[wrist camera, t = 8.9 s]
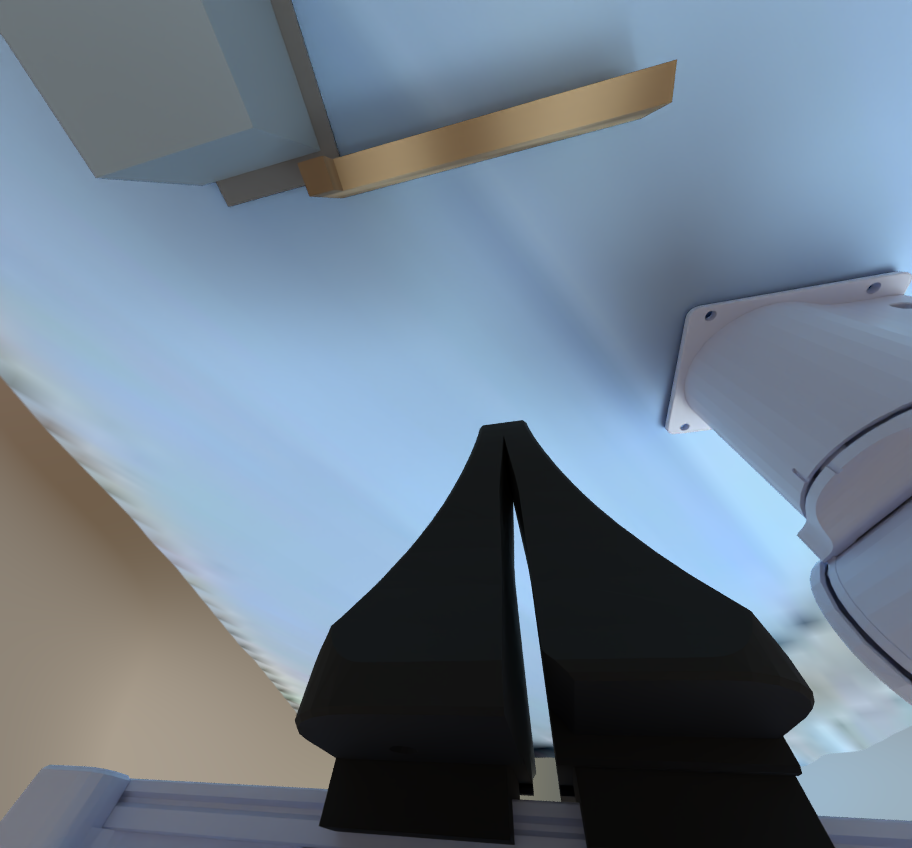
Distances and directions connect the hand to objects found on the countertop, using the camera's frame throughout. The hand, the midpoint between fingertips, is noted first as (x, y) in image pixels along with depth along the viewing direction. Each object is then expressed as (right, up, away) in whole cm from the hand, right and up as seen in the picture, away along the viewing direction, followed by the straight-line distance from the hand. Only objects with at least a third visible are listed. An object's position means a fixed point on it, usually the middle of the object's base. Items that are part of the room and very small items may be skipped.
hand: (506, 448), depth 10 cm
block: (-11, +14, +3) cm, 18 cm away
